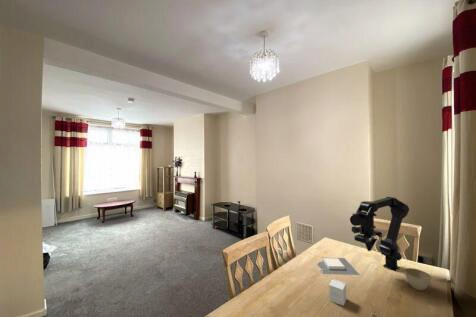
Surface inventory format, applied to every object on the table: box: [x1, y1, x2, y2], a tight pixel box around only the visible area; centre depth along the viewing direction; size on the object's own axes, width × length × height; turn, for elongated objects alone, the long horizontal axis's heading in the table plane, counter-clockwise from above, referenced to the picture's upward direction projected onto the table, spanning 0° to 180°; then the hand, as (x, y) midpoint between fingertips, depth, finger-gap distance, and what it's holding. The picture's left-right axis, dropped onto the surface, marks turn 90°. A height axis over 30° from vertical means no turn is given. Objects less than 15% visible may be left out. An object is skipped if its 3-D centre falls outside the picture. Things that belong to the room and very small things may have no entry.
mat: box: [316, 257, 360, 276], centre depth 124 cm, size 20×20×1 cm
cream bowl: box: [403, 267, 431, 291], centre depth 102 cm, size 10×10×7 cm
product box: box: [328, 278, 347, 307], centre depth 94 cm, size 6×6×7 cm
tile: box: [322, 257, 345, 270], centre depth 124 cm, size 2×10×9 cm
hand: (369, 250), depth 117 cm, fingers closed
